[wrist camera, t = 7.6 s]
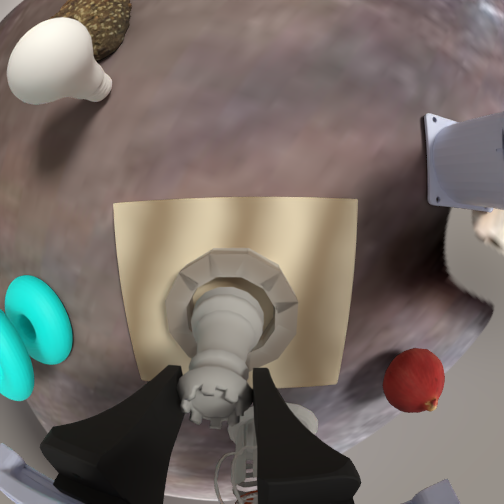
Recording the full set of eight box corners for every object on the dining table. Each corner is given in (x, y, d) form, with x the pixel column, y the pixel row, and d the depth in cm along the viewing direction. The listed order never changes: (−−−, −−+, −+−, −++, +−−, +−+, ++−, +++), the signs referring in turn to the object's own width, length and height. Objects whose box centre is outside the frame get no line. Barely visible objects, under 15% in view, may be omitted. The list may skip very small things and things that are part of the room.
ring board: (353, 198, 19) (368, 200, 16) (334, 377, 22) (342, 397, 20) (119, 202, 19) (99, 205, 16) (144, 374, 23) (134, 392, 20)
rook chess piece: (197, 277, 16) (154, 359, 8) (270, 289, 16) (281, 381, 9) (191, 337, 17) (159, 428, 10) (257, 348, 18) (257, 445, 10)
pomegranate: (429, 348, 22) (471, 392, 14) (392, 388, 23) (422, 439, 15) (402, 323, 21) (448, 370, 13) (360, 368, 22) (391, 426, 14)
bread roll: (126, 62, 17) (99, 38, 12) (31, 99, 17) (1, 90, 12) (145, -23, 14) (130, -49, 9) (56, 13, 14) (34, -2, 10)
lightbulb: (110, 133, 18) (14, 103, 7) (67, 113, 18) (-20, 87, 7) (148, 70, 17) (79, 1, 6) (101, 56, 16) (30, 4, 6)
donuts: (-51, 309, 11) (-20, 297, 11) (7, 280, 21) (54, 262, 21) (-7, 399, 13) (40, 414, 13) (39, 356, 23) (92, 354, 23)
